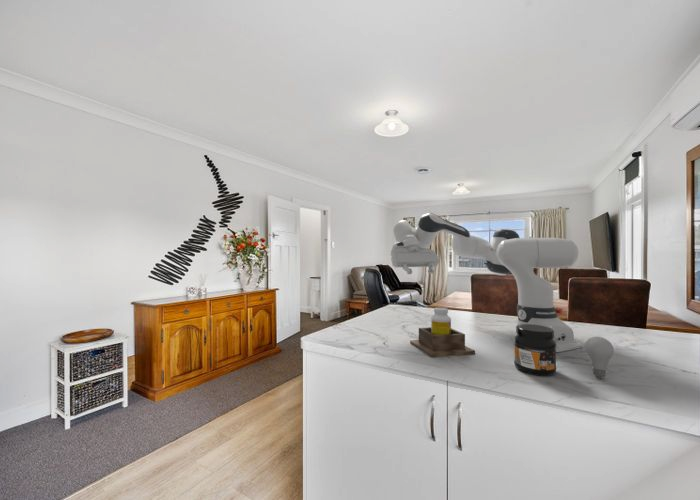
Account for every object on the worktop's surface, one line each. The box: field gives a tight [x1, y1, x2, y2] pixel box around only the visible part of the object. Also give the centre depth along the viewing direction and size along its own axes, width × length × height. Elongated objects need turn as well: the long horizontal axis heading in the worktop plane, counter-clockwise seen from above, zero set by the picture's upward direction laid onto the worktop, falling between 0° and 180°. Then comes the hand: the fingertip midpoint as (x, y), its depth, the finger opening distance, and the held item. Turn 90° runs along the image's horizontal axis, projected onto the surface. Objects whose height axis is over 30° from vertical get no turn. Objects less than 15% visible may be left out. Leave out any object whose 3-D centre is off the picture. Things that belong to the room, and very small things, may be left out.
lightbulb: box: [584, 336, 615, 379], centre depth 83 cm, size 6×6×11 cm
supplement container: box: [513, 324, 557, 377], centre depth 89 cm, size 10×10×12 cm
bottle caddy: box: [409, 326, 476, 359], centre depth 109 cm, size 16×16×6 cm
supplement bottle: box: [430, 307, 452, 335], centre depth 109 cm, size 7×7×13 cm
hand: (421, 273), depth 125 cm, fingers open, 8 cm apart
